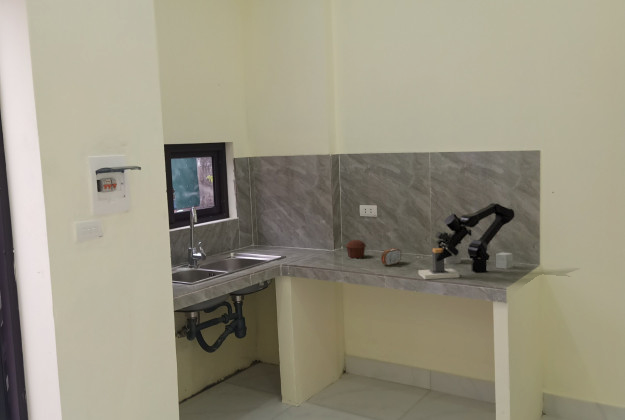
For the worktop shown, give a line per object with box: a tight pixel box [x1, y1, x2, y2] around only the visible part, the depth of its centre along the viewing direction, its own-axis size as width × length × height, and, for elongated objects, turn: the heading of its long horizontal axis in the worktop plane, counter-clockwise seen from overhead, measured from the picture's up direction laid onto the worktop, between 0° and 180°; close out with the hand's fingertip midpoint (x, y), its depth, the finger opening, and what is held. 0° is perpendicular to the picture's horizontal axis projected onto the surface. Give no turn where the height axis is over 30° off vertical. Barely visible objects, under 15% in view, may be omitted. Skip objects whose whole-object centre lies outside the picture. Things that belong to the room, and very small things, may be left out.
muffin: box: [345, 239, 367, 259], centre depth 371 cm, size 12×11×10 cm
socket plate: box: [418, 268, 460, 280], centre depth 313 cm, size 17×12×2 cm
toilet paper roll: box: [444, 243, 462, 265], centre depth 346 cm, size 12×12×12 cm
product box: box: [495, 251, 514, 270], centre depth 326 cm, size 6×6×7 cm
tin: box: [380, 247, 402, 266], centre depth 346 cm, size 15×3×8 cm, turn 134°
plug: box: [432, 247, 445, 273], centre depth 312 cm, size 4×4×12 cm
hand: (435, 259), depth 312 cm, fingers closed on plug, 4 cm apart
